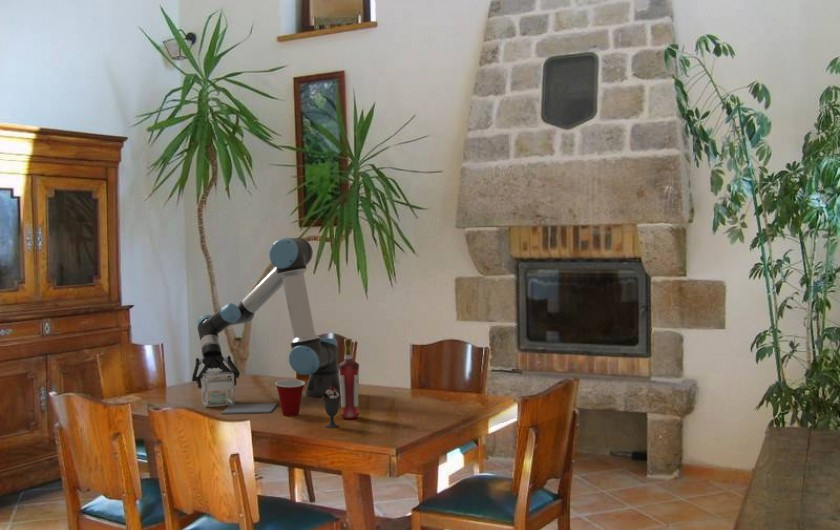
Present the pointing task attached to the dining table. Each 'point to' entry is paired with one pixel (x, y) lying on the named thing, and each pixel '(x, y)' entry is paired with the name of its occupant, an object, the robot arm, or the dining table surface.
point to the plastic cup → (290, 396)
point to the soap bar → (217, 398)
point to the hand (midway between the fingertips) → (219, 392)
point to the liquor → (349, 383)
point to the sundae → (331, 404)
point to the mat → (249, 408)
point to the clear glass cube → (218, 386)
